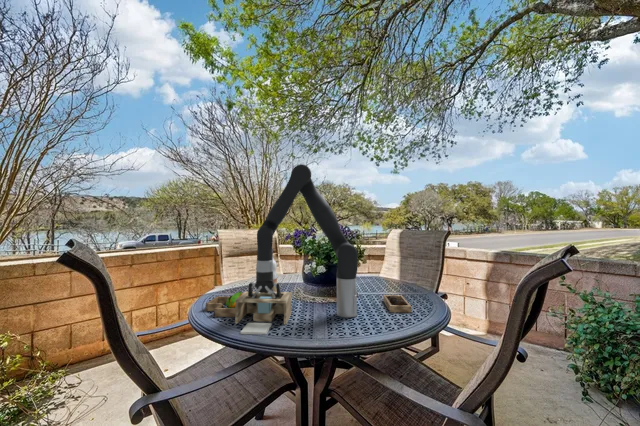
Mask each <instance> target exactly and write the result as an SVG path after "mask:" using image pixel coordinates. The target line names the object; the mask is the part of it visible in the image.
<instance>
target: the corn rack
mask: <svg viewBox="0 0 640 426" xmlns="http://www.w3.org/2000/svg"><path fill="white" fill-rule="evenodd" d="M243 293H244V292H242V294H243ZM229 297H230V296H224V295H223V296H215V297H214V298H213V299H211V300H209V301H208V302H207V303H205V311H206V312H214V317H217V318H218V317H223V318H229V317H230V318H231V317H232V318H235V308H227V307H226V308H225V307H224V304H225V305H226V302H227V299H228V298H229Z"/></svg>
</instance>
